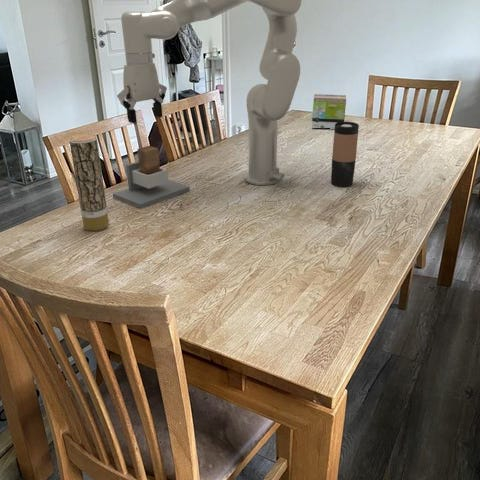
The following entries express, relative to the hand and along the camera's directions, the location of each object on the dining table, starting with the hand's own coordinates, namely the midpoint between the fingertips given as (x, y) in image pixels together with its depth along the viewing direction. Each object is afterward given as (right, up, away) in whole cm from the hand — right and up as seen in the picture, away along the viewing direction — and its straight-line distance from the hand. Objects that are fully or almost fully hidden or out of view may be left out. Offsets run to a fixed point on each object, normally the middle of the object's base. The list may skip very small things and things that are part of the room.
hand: (145, 119), depth 148 cm
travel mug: (+63, -17, +18) cm, 67 cm away
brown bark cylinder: (-11, -33, -11) cm, 37 cm away
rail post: (0, -17, +8) cm, 19 cm away
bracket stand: (0, -21, +11) cm, 24 cm away
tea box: (+70, +18, +89) cm, 115 cm away
